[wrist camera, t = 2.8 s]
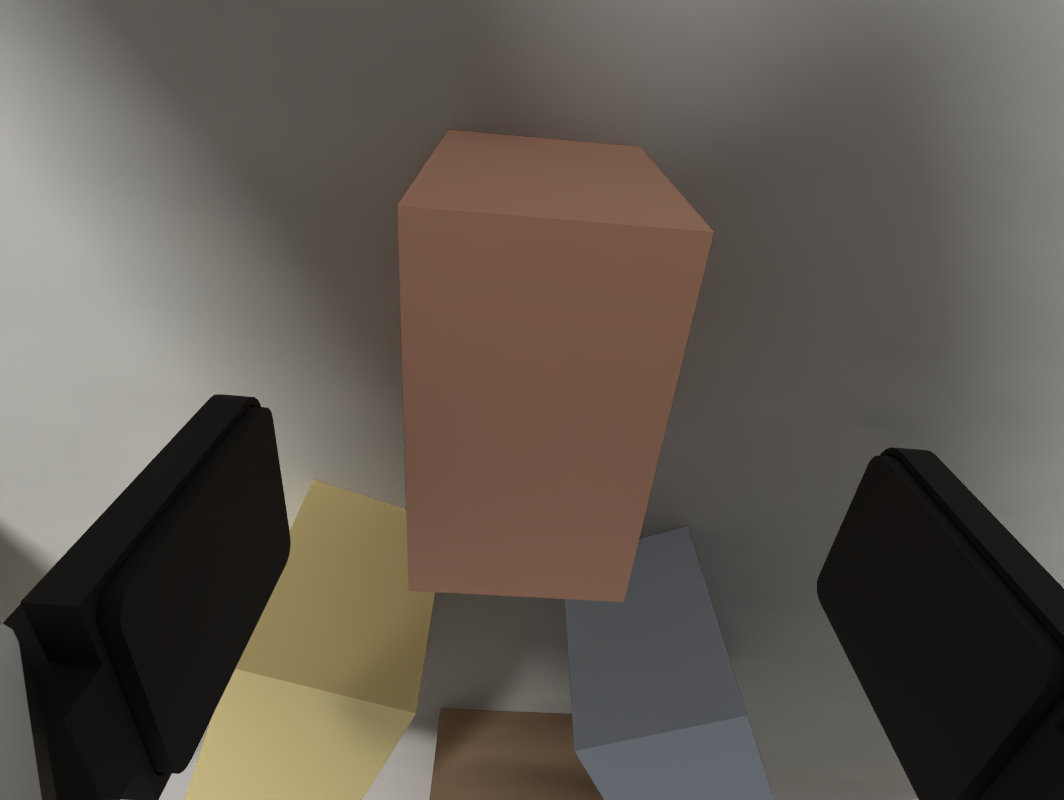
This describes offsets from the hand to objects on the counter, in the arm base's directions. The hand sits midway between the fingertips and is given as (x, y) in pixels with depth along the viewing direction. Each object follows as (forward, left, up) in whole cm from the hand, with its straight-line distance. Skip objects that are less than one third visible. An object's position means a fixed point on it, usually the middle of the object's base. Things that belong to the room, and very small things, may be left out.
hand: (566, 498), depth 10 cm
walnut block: (+20, 0, -6) cm, 21 cm away
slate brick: (+10, +4, -6) cm, 13 cm away
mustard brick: (+9, -6, -6) cm, 12 cm away
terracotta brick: (-1, -1, -6) cm, 6 cm away
